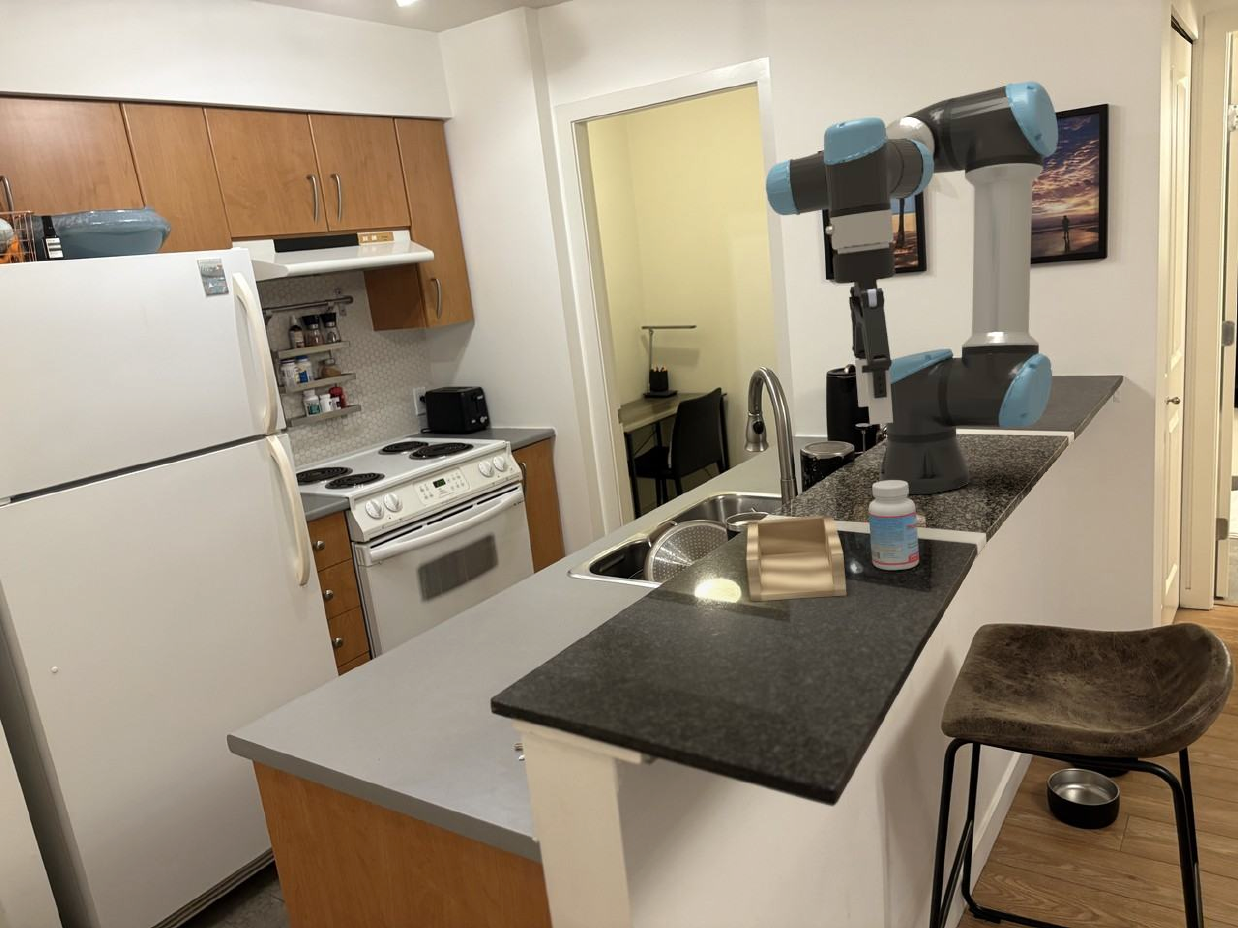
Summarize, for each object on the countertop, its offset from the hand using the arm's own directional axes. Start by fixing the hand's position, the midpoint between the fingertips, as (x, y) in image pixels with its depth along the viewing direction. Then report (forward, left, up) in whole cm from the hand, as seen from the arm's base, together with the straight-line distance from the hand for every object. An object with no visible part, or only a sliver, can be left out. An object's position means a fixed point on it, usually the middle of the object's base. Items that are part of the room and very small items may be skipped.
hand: (874, 414), depth 121 cm
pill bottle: (-1, +1, -21) cm, 21 cm away
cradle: (+10, -7, -21) cm, 24 cm away
